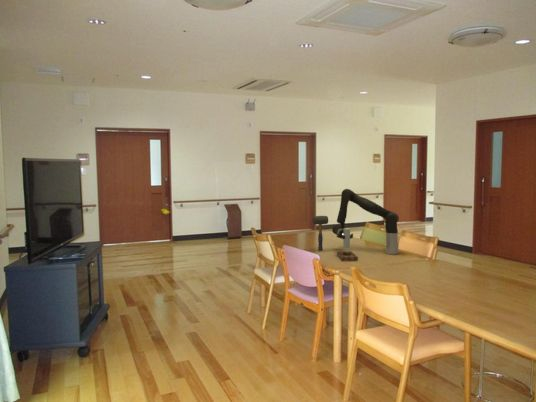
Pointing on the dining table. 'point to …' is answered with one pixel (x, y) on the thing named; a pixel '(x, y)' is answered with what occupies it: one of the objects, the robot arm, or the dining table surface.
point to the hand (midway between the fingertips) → (347, 237)
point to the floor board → (347, 256)
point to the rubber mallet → (320, 228)
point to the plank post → (346, 238)
